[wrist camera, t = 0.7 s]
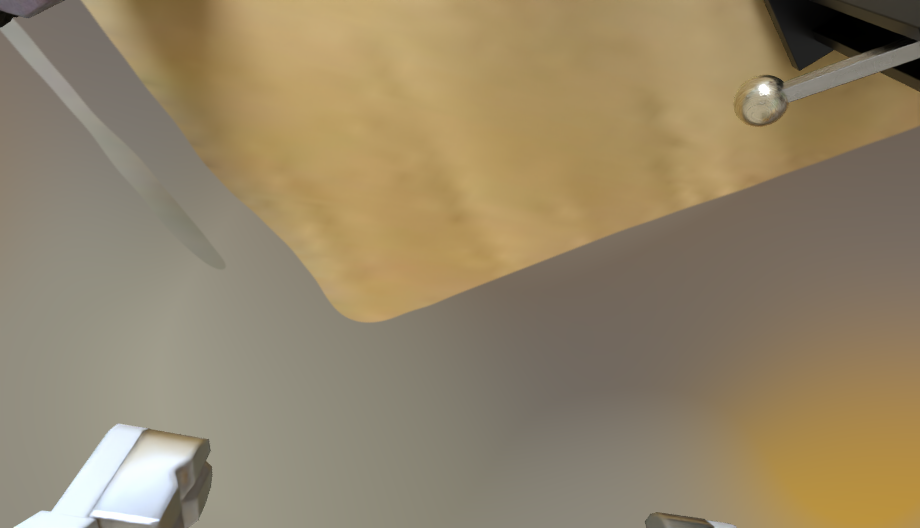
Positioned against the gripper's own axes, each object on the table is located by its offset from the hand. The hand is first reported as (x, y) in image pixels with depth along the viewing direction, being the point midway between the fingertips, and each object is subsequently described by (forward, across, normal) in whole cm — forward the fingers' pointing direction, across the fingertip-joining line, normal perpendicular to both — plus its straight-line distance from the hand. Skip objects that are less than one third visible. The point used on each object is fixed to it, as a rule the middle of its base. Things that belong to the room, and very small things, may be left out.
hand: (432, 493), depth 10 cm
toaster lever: (+32, -23, -5) cm, 39 cm away
